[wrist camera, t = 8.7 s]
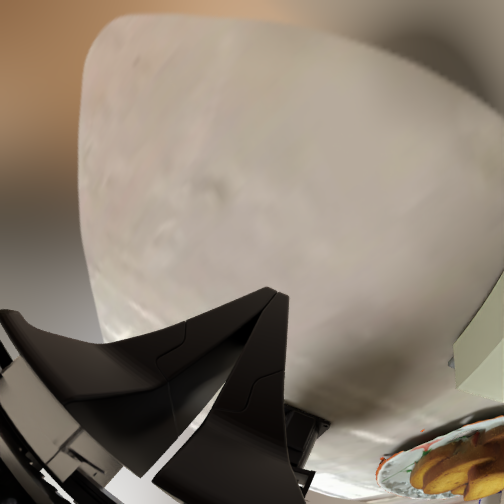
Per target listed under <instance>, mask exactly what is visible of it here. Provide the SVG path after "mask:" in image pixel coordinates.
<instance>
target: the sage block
mask: <svg viewBox="0 0 504 504" xmlns="http://www.w3.org/2000/svg"><path fill="white" fill-rule="evenodd" d="M453 353H454V364H455V379H456V389H457V390H460V391H464V392H467V393H470V394H473V395H477V396H480V397H484V398H487V399H491V400H494V401H498V402H502V403H504V272H503V274H502V275H501V277H500V279H499V280H498V282H497V284H496V285H495V287H494V289H493V290H492V292H491V293H490V295H489V296H488V298H487V300H486V301H485V303H484V304H483V306H482V307H481V308H480V310H479V311H478V313H477V314H476V316H475V317H474V318H473V320H472V321H471V323H470V324H469V325H468V327H467V328H466V329H465V331H464V332H463V333H462V334H461V336H460V337H459V338H458V340H457V341H456V342H455V343H454V344H453Z"/></svg>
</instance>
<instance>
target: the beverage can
mask: <svg viewBox="0 0 504 504" xmlns="http://www.w3.org/2000/svg"><path fill="white" fill-rule="evenodd" d="M501 495H502V491H500V492H498V493H496V494H493V495H490V496H487V497H484V498H481V499H479V504H500V503H501Z"/></svg>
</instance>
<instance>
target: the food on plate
mask: <svg viewBox="0 0 504 504" xmlns="http://www.w3.org/2000/svg"><path fill="white" fill-rule="evenodd" d="M460 429H462V430H461V431H457V430H456V431H453V432H451V433H449V434H447V435H444V436H440V437H437V438H435V439H434V440H432V441H429V442H427V443H424V444H421V445H419V446H417V447H415V448H413V449H411V450H408V451H406V452H404V451H401V452H399V453H398V454H397V453H395V454H394V455H393V456H392V457H390V458H389V459H387V461H386V459H385V458H383V457H382V458H380V460H382V461H381V462H380V464H379V467H378V468H377V471H376V480H377V484H378V485H379V486H380V487H381V488H382V489H384V490H385V491H387V492H388V493H393V494H395V495H397V496H401V497H408V498H411V499H426V500H432V499H443V500H444V499H447V498H452V497H458V496H461V495H463V496H464V500H465V501H470V500H477V499H481V498H484V497H487V496H490V495H493V494H496V493H498V492H500V491H502V490H503V489H504V416H503V415H501V416H498V417H495V418H494V419H487V420H484V421H478V422H475V423H472V424H468V425H463V427H462V428H460ZM460 429H458V430H460ZM479 429H480V430H479ZM470 430H479V431H477V432H476V433H475V434H474V435H472V436H470V437H467V436H463V437H459V438H456V439H455V440H453V441H449V440H451V439H454V438H455V437H456V436H457V435H459V434H461V433H464V432H468V431H470ZM423 431H424V430H422V431H421V432H423ZM384 459H385V460H384ZM382 462H383V463H382ZM381 463H382V464H381Z"/></svg>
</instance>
